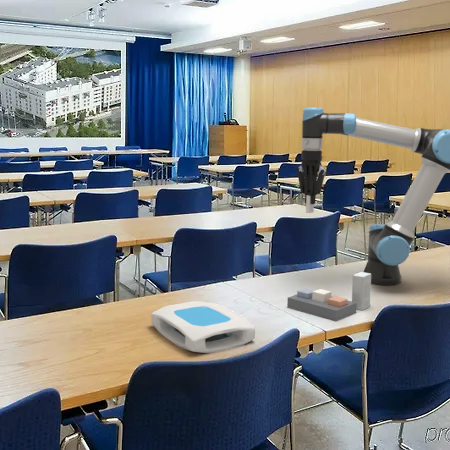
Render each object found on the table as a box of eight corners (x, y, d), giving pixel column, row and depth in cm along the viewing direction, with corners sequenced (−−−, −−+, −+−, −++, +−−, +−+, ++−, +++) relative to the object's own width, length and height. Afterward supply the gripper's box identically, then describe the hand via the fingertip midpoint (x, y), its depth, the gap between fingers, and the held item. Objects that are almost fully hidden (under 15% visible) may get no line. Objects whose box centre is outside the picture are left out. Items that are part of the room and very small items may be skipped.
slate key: (304, 299, 213) (305, 288, 212) (315, 302, 209) (316, 291, 209) (297, 302, 209) (297, 291, 209) (307, 305, 206) (308, 293, 205)
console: (308, 299, 216) (308, 290, 216) (356, 312, 203) (356, 302, 202) (287, 307, 208) (287, 297, 207) (336, 321, 194) (336, 310, 194)
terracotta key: (335, 307, 204) (335, 296, 203) (347, 310, 201) (347, 299, 200) (327, 310, 201) (328, 298, 200) (339, 313, 197) (339, 301, 197)
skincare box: (358, 304, 212) (360, 271, 210) (370, 306, 209) (371, 273, 207) (350, 308, 207) (352, 274, 205) (362, 310, 205) (363, 276, 202)
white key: (319, 300, 208) (320, 288, 207) (331, 302, 205) (331, 291, 204) (312, 302, 205) (312, 291, 204) (323, 305, 202) (323, 294, 201)
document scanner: (193, 357, 164) (193, 336, 163) (150, 327, 188) (150, 308, 187) (256, 343, 175) (256, 322, 174) (208, 316, 199) (208, 297, 198)
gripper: (291, 149, 225) (289, 211, 229) (320, 150, 216) (318, 215, 220) (303, 148, 230) (301, 209, 234) (332, 150, 221) (329, 213, 225)
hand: (309, 212), depth 227 cm, fingers closed
